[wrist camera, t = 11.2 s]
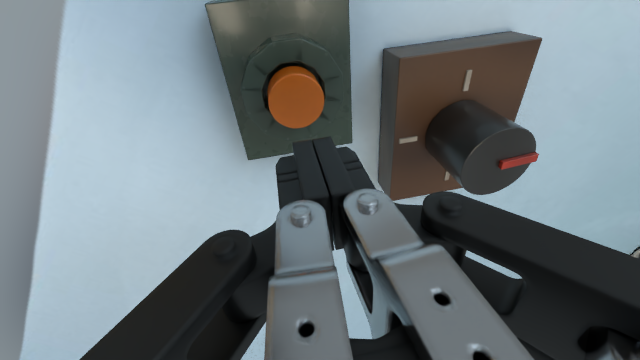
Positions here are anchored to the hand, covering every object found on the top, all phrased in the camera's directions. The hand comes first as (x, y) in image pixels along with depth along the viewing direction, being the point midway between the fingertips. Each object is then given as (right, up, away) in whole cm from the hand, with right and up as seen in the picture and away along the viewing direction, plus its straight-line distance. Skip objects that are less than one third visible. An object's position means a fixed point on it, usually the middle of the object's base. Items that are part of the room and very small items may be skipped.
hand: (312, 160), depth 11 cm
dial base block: (+10, +5, +13) cm, 17 cm away
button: (-1, +5, +6) cm, 8 cm away
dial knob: (+11, +3, +11) cm, 16 cm away
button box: (-2, +7, +9) cm, 12 cm away
